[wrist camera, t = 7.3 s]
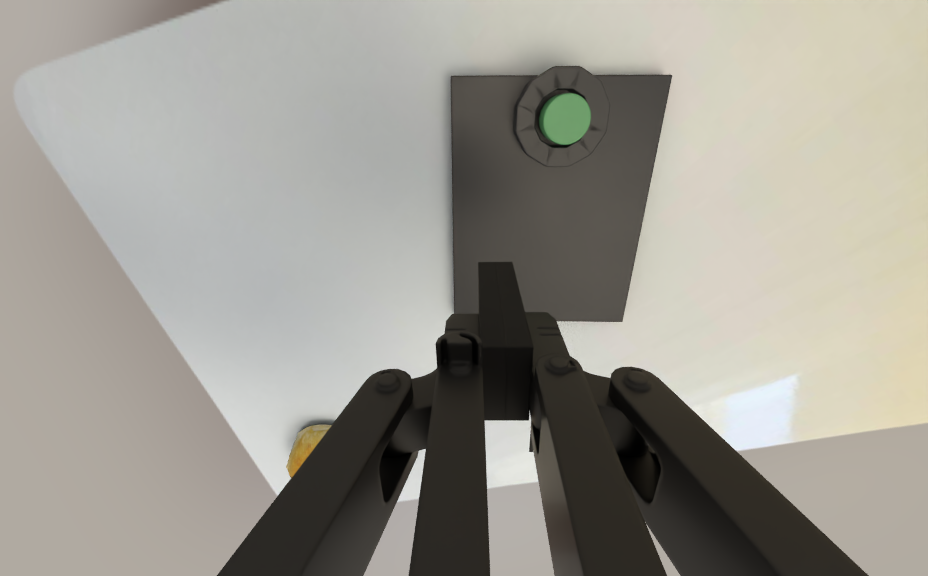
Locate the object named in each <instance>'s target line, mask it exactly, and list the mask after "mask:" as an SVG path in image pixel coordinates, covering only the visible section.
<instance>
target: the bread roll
mask: <svg viewBox="0 0 928 576" xmlns="http://www.w3.org/2000/svg"><path fill="white" fill-rule="evenodd" d="M331 426H332V425H312V426H309V427H307V428H305V429H303V430H302V431H300V432H299V433H298V434H297V437H296V440H295V442H294V445H293V448H292V450H291V453H290V455H289V460H288V463H287V466H286V468H287V469H288V472H289V475H290V477H291V478H292V477H293V475H294V474H295V473H296V472H297V470H298V469H299V468H300V466H301V465H302V464H303V462H304V461H305V460H306V458H307V457H308V456H309V455H310V453H311V452H312V451H313V449H314V448H315V447H316V445H317V444H318V443H319V441H320V440H321V439H322V438H323V436H324V435H325V434H326V432H327V431H328V430H329V428H330V427H331Z"/></svg>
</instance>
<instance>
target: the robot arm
mask: <svg viewBox="0 0 928 576" xmlns="http://www.w3.org/2000/svg"><path fill="white" fill-rule="evenodd" d="M436 355H437V369H436V370H434V371H433V372H432V373H430V374H428V375H425V376H422V377H418V378H414V379H411V377H410V375H409V374H408V373H406V372H405V371H402V370H399V369H387V370H382V371H379V372H377V373H375V374H373V375H371V376H370V377H369V378H368V379H367V380H366V381H365V383H364V384H363V385H362V386H361V388H360V389H359V390H358V392H357V393H356V394H355V396H354V397H353V398H352V400H351V401H350V402H349V404H348V405H347V406H346V407H345V409H344V410H343V411H342V413H341V414H340V415H339V417H338V418H337V419H336V421H335V422H334V423H333V424H332V426H331V427H330V428H329V430H328V431H327V432H326V434H325V435H324V436H323V438H322V439H321V440H320V441H319V443H318V444H317V445H316V447H315V448H314V449H313V451H312V452H311V453H310V455H309V456H308V457H307V458H306V460H305V461H304V462H303V464H302V465H301V466H300V468H299V469H298V470H297V472H296V473H295V474H294V475H293V477H292V478H291V479H290V481H289V482H288V483H287V485H286V486H285V487H284V489H283V490H282V491H281V493H280V494H279V495H278V496H277V498H276V499H275V500H274V502H273V503H272V504H271V506H270V507H269V508H268V510H267V511H266V512H265V514H264V515H263V516H262V517H261V519H260V520H259V521H258V523H257V524H256V525H255V527H254V528H253V529H252V530H251V532H250V533H249V534H248V536H247V537H246V538H245V540H244V541H243V542H242V544H241V545H240V546H239V548H238V549H237V550H236V552H235V553H234V554H233V555H232V557H231V558H230V559H229V561H228V562H227V563H226V565H225V566H224V567H223V569H222V570H221V571H220V572H219V574H218V575H217V576H363V575H364V573H365V571H366V569H367V566H368V564H369V562H370V560H371V557H372V555H373V553H374V551H375V549H376V546H377V544H378V542H379V540H380V538H381V535H382V533H383V531H384V529H385V526H386V524H387V522H388V520H389V518H390V516H391V513H392V511H393V509H394V507H395V504H396V502H397V500H398V498H399V496H400V494H401V491H402V489H403V487H404V485H405V483H406V480H407V478H408V476H409V474H410V472H411V469H412V467H413V465H414V463H415V460H416V458H417V456H418V451H419V450H422V449H426V453H425V460H424V468H423V475H422V482H421V490H420V497H419V505H418V512H417V519H416V526H415V533H414V541H413V548H412V556H411V563H410V570H409V576H490V560H489V535H488V534H489V533H488V506H487V478H486V451H485V424H484V420H529V409H530V415H531V434H530V448H529V452H533V451H534V457H535V463H536V469H537V474H538V480H539V486H540V492H541V498H542V504H543V510H544V515H545V522H546V527H547V533H548V539H549V545H550V551H551V557H552V562H553V568H554V575H555V576H667V575H666V572H665V570H664V567H663V565H662V562H661V560H660V558H659V555H658V553H657V550H656V548H655V545H654V543H653V540H652V538H651V535H650V533H649V531H648V528H647V526H646V524H647V525H648V527H649V528H650V529H651V531H652V533H653V534H654V536H655V537H656V539H657V540H658V542H659V544H660V545H661V546H662V548H663V550H664V551H665V553H666V554H667V556H668V557H669V559H670V560H671V562H672V563H673V565H674V566H675V568H676V569H677V571H678V572H679V574H680V575H681V576H868V575H867V574H866V573H865V572H864V571H863V570H862V569H861V568H860V567H858V565H857V564H855V563H854V562H853V561H852V560H851V559H850V558H849V557H848V556H847V555H846V554H845V553H844V552H843V551H842V550H841V549H839V547H837V546H836V545H835V544H834V543H833V542H832V541H831V540H830V539H829V538H828V537H827V536H826V535H825V534H824V533H822V532H821V531H820V530H819V529H818V528H817V527H816V526H815V525H814V524H813V523H812V522H811V521H810V520H809V519H808V518H807V517H805V515H803V514H802V513H801V512H800V511H799V510H798V509H797V508H796V507H795V506H794V505H793V504H792V503H791V502H790V501H789V500H787V499H786V498H785V497H784V496H783V495H782V494H781V493H780V492H779V491H778V490H777V489H776V488H775V487H774V486H773V485H772V484H770V483H769V482H768V481H767V480H766V479H765V478H764V477H763V476H762V475H760V473H759V472H758V471H756V469H755V468H753V467H752V466H751V465H750V464H749V463H748V462H747V461H746V460H745V459H744V458H743V457H742V456H741V455H740V454H739V453H738V452H736V451H735V450H734V449H733V448H732V447H731V446H730V445H729V444H728V443H727V442H726V441H725V440H724V439H723V438H722V437H720V436H719V435H718V434H717V433H716V432H715V431H714V430H713V429H712V428H711V427H710V426H709V425H708V424H707V423H706V422H705V421H703V420H702V419H701V418H700V417H699V416H698V415H697V414H696V413H695V412H694V411H693V410H692V409H691V408H690V407H689V406H688V405H686V404H685V403H684V402H683V401H682V400H681V399H680V398H679V397H678V396H677V395H676V394H675V393H674V392H673V391H672V390H671V389H669V388H668V387H667V386H666V385H665V384H664V383H663V382H662V381H661V380H660V379H659V378H658V377H656V376H655V375H653V374H652V373H650V372H648V371H646V370H643V369H640V368H635V367H621V368H619V369H616V370H615V371H614V372H613V373H612V374H611V378H607V377H602V376H597V375H593V374H590V373H587V372H585V371H583V369H582V367H581V365H580V364H579V363H578V361H577V360H575V359H574V358H572V357H570V356H569V353H568V350H567V348H566V345H565V343H564V340H563V337H562V335H561V332H560V330H559V327H558V324H557V322H556V319H555V318H554V317H552V316H551V315H550V314H549V313H548V312H525V310H524V306H523V302H522V298H521V294H520V290H519V286H518V282H517V278H516V274H515V270H514V266H513V262H478V314H452V315H451V316H450V317H449V318H448V320H447V321H446V327H445V334H444V335H442V336H441V337H440V338H438V340H437V342H436ZM645 522H646V523H645Z"/></svg>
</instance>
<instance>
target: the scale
mask: <svg viewBox="0 0 928 576" xmlns="http://www.w3.org/2000/svg"><path fill="white" fill-rule="evenodd" d="M671 78H672V75H592V74H591V73H590V72H588V71H587V70H585V69H584V68H582V67H580V66H555V67H552V68H550V69H548V70H547V71H545V72H544V73H542V74H540V75H524V76H451V128H452V194H453V261H454V314H478V262H513V266H514V270H515V274H516V278H517V282H518V286H519V290H520V294H521V298H522V302H523V306H524V310H525V312H548V313H549V314H550V315H551V316H552V317H554V318H555V319H556V321H593V322H622V320H623V315H624V310H625V306H626V301H627V296H628V291H629V286H630V281H631V276H632V271H633V266H634V261H635V256H636V251H637V246H638V241H639V236H640V231H641V227H642V222H643V217H644V212H645V207H646V202H647V197H648V192H649V187H650V182H651V177H652V172H653V167H654V162H655V157H656V153H657V148H658V143H659V138H660V133H661V128H662V123H663V118H664V113H665V108H666V103H667V98H668V93H669V88H670V83H671ZM565 93H574V94H577V95H580V96H581V97H583V98H584V99H585V100H586V102H587V103H588V105H589V107H590V111H591V121H590V125H589V128H588V130H587V132H586V133H585V134H584V136H583V137H582V138H581V139H579V140H578V141H576V142H574V143H572V144H568V145H560V144H557V143H554V142H552V141H550V140H548V139H547V138H546V137H545V136H544V135H543V134H542V132H541V130H540V126H539V116H540V112H541V109H542V108H543V106H544V104H545V103H546V102H547V101H548V100H549V99H550V98H552V97H554V96H556V95H559V94H565Z"/></svg>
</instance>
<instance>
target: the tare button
mask: <svg viewBox="0 0 928 576" xmlns="http://www.w3.org/2000/svg"><path fill="white" fill-rule="evenodd" d="M590 121H591V111H590V107H589V105H588V103H587V102H586V100H585V99H584V98H583V97H581V96H580V95H577V94H574V93H565V94H559V95H556V96H554V97H552V98H550V99H549V100H548V101H547V102H546V103H545V104H544V106H543V108H542V109H541V112H540V116H539V126H540V130H541V132H542V134H543V135H544V136H545V137H546V138H547V139H548V140H550V141H552V142H554V143H557V144H560V145H568V144H572V143H574V142H576V141H578V140H579V139H581V138H582V137H583V136H584V134H585V133H586V132H587V130H588V128H589V125H590Z"/></svg>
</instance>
